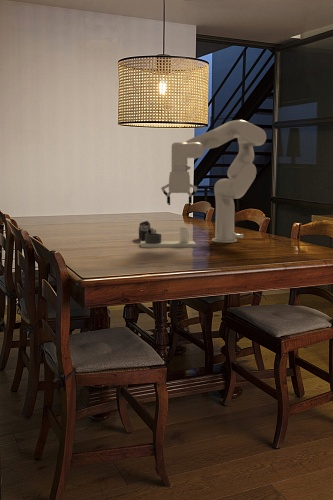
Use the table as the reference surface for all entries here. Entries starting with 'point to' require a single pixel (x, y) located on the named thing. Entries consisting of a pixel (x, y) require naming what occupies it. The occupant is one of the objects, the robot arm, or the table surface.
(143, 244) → the board
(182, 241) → the cylinder
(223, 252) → the table surface
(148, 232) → the camera
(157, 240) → the black faceted cup
